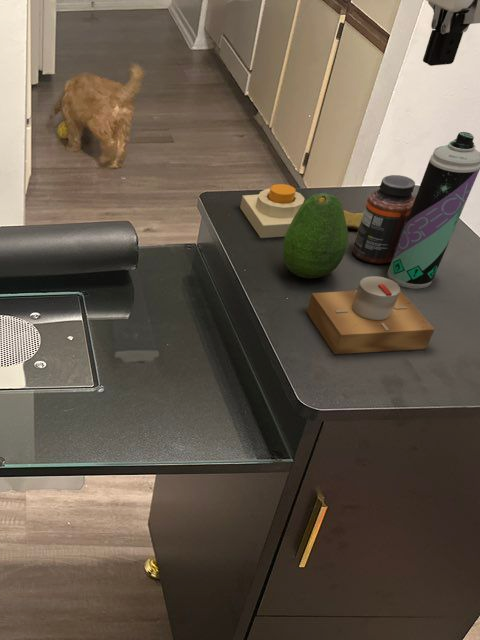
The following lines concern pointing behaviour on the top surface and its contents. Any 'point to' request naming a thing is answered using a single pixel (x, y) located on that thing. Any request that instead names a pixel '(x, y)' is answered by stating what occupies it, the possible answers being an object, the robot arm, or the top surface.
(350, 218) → the tan elongated lumpy piece
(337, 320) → the dial panel
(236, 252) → the top surface
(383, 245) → the supplement bottle
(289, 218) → the button box
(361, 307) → the knob
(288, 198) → the button
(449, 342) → the top surface
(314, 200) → the fruit
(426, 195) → the spray can
